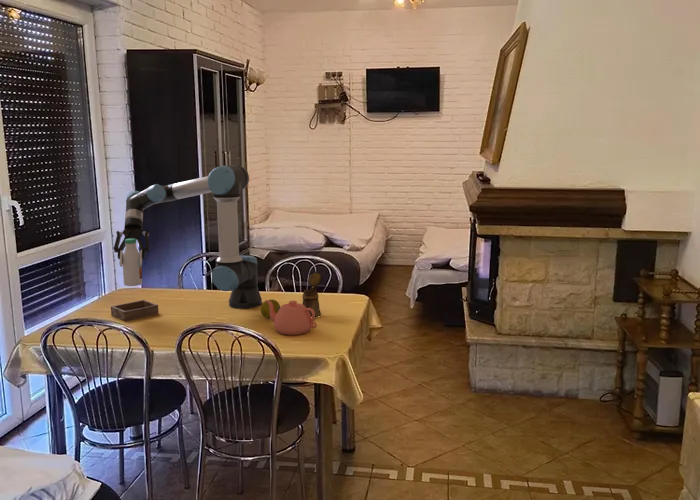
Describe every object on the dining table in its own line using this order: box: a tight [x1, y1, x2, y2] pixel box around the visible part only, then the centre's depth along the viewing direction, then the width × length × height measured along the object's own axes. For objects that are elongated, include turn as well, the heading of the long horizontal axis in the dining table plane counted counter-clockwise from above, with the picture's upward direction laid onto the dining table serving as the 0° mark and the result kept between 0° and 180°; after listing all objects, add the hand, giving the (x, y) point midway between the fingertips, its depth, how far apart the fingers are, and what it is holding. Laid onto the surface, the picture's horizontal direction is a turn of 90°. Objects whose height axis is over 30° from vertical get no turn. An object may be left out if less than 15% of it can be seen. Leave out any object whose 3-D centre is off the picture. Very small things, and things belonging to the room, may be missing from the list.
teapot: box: [264, 299, 318, 336], centre depth 255 cm, size 22×16×12 cm
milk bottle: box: [122, 239, 143, 287], centre depth 274 cm, size 8×8×20 cm
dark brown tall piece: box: [301, 271, 323, 317], centre depth 278 cm, size 9×14×18 cm, turn 164°
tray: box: [110, 299, 160, 322], centre depth 278 cm, size 13×16×4 cm
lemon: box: [260, 299, 281, 320], centre depth 274 cm, size 11×8×8 cm
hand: (130, 264), depth 271 cm, fingers closed on milk bottle, 7 cm apart
